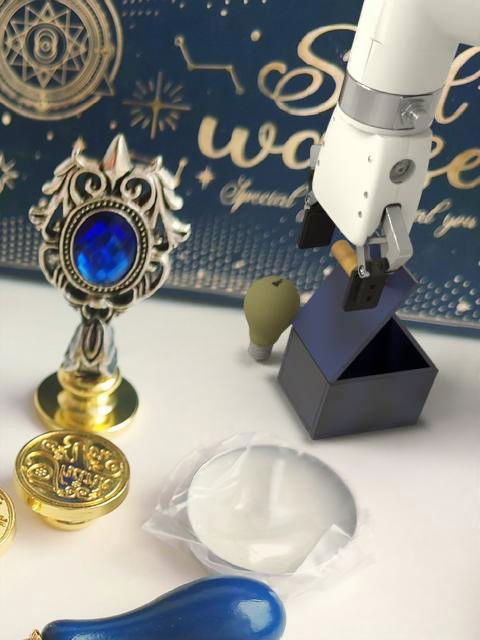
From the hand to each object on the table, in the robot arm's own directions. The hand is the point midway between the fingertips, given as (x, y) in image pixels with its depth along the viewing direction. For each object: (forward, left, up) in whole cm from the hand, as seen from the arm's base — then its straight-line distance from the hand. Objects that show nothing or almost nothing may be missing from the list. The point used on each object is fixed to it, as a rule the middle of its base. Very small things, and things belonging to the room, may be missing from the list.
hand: (334, 276), depth 98 cm
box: (-5, 0, -16) cm, 17 cm away
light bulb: (+1, -8, -16) cm, 18 cm away
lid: (-3, 0, -4) cm, 5 cm away
